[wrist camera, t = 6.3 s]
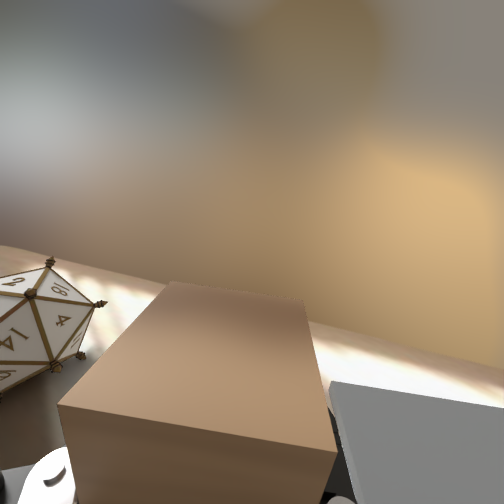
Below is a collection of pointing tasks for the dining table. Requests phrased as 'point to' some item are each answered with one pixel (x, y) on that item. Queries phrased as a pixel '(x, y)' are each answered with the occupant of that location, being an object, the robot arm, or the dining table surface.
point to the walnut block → (203, 406)
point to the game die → (39, 324)
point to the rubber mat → (419, 447)
